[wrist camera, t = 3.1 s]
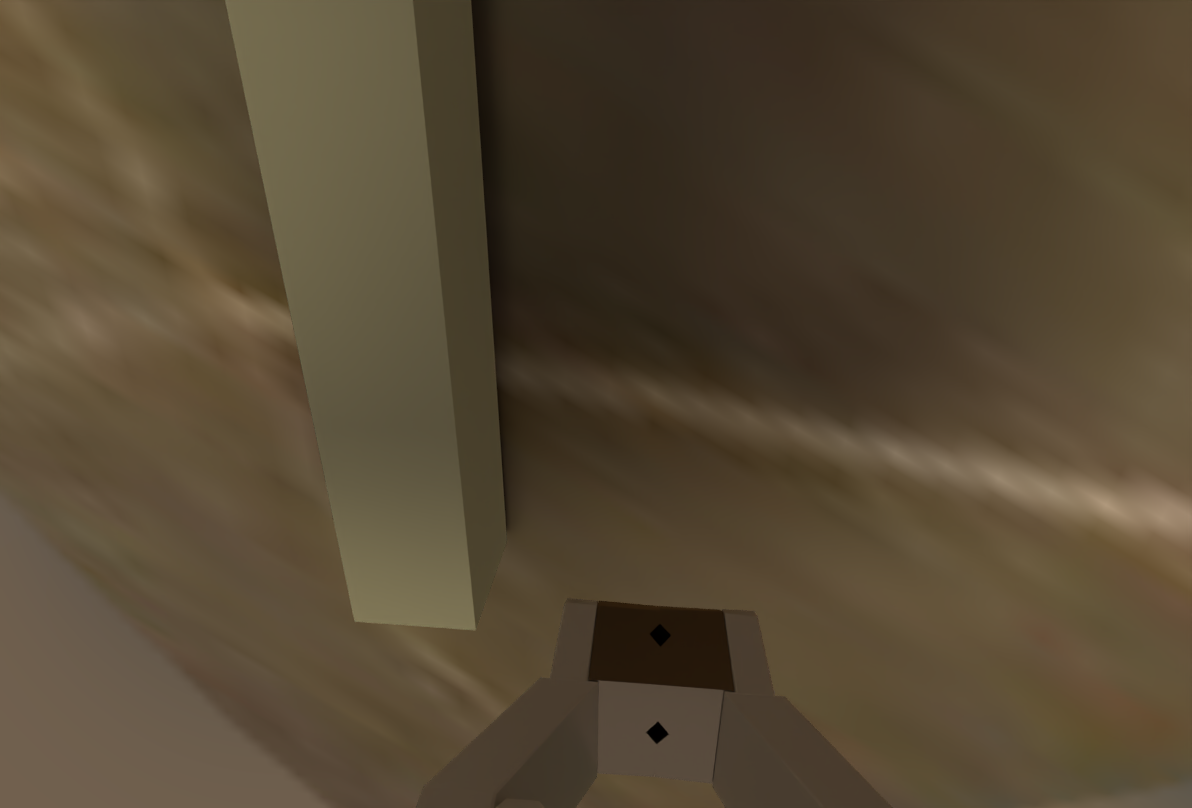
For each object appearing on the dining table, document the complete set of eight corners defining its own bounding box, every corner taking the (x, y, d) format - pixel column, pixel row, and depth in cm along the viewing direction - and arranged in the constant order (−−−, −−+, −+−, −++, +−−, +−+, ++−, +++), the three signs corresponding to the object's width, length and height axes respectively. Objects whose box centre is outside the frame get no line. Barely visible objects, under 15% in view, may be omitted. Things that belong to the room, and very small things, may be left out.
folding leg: (260, -454, 12) (12, -814, 7) (446, -467, 11) (309, -850, 7) (407, 530, 21) (340, 641, 17) (509, 536, 21) (470, 651, 16)
